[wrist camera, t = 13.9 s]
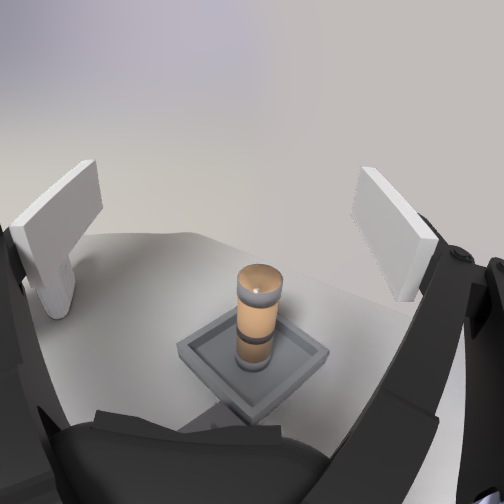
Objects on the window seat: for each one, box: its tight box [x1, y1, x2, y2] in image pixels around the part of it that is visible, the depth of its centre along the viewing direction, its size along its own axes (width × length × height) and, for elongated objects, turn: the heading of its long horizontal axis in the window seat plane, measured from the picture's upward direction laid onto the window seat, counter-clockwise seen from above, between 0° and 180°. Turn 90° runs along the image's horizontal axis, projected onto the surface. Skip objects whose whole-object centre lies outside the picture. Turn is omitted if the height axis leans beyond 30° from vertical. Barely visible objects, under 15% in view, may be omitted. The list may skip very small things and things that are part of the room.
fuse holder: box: [177, 401, 247, 433], centre depth 27 cm, size 12×10×5 cm
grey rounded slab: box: [35, 256, 76, 319], centre depth 44 cm, size 10×4×12 cm, turn 14°
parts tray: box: [176, 307, 329, 426], centre depth 41 cm, size 14×14×3 cm
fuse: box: [235, 264, 283, 373], centre depth 37 cm, size 5×5×14 cm
